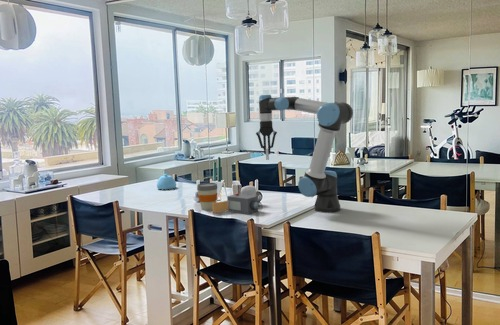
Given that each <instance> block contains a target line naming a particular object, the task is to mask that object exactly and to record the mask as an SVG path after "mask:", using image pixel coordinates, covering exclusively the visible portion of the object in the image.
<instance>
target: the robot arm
mask: <svg viewBox="0 0 500 325" xmlns="http://www.w3.org/2000/svg"><path fill="white" fill-rule="evenodd" d="M258 107H259V131H257V132H256V133H255V135H256V136H257V139H258V141H259V145H260V148H261V149H263V154H264V155H265V159H266V160H270V154H271V152H272V151H271V149H272V148H274V144H275V140H276V139H275V138H276V136H277V134H278V132H277V131H275V130H274V128H273V121H272V120H273V111H287V110H288V111H290V110H293V111H298V112H299V111H300V112H304V113H308V114H314V115H316V119H317V122H318V124H317V125H318V127H319V132H318V135H317V139H316V143H315V146H314V148H313V149H314V150H313V153H312V157H311V160H310V164H309V166H308V168H307V169H306V170H305V172H304V176H302V177H301V178H300V179H299V180H298V182H297V185H298V190H299V192H300V193H301V195H303V196H304V197H306V198H313V197H315V196H316V199H315V202H314V211H315V212H319V213H336V212H340V211H341V203H340V201H339V198H338V174H337V172H336V171H333V170H326V167H327V164H328V161H329V157H330V154H331V150H332V147H333V143H334V140H335V137H336V133H338V132H340V129H341V127H342V125H345V124H346V123H349V122H350V121H351V120H352V118H353V116H354V111H353V110H354V109H353V107H352V105H351V104H349V103H347V102H344V101H342V102H341V101H340V102H337V101H335V102H327V101H325V102H324V101H319V100H314V99H307V98H302V97H301V98H300V97H299V96H287V97H286V96H279V97H272V95H271V94H260V95H259V96H258ZM261 135H262V137H263V138H261ZM272 135H273V136H272ZM271 136H272V140H271ZM262 139H263V141H262Z"/></svg>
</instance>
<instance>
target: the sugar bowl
mask: <svg viewBox="0 0 500 325" xmlns="http://www.w3.org/2000/svg"><path fill="white" fill-rule="evenodd" d="M176 187H177V183H176V180H175V178H174V177H173V176H172V175H168V173H164V174H163V175H161V176H160V177H159V179H158V180H157V183H156V188H157V189H158V190H159V189H170V190H174V189H176ZM173 188H174V189H173Z"/></svg>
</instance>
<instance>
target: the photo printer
mask: <svg viewBox="0 0 500 325" xmlns="http://www.w3.org/2000/svg"><path fill="white" fill-rule="evenodd" d="M240 194H245V195H253V196H257V188H256V186H254V185H246V186H243V187H241V188H240Z"/></svg>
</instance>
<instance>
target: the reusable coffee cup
mask: <svg viewBox="0 0 500 325" xmlns="http://www.w3.org/2000/svg"><path fill="white" fill-rule="evenodd" d="M196 186H197V187H196V189H197V192H198V194H197V196H198V201H199V204H200V208H201V210H203V211H210V210H211V211H213V209H212V203H217V200H218V183H217V182H203V183H198V184H197V185H196Z"/></svg>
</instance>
